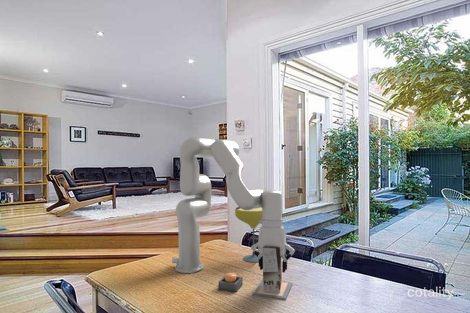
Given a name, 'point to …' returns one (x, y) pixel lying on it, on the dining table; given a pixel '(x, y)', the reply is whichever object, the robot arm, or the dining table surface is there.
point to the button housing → (230, 285)
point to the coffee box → (272, 269)
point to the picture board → (282, 295)
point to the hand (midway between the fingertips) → (272, 269)
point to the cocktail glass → (252, 220)
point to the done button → (230, 277)
